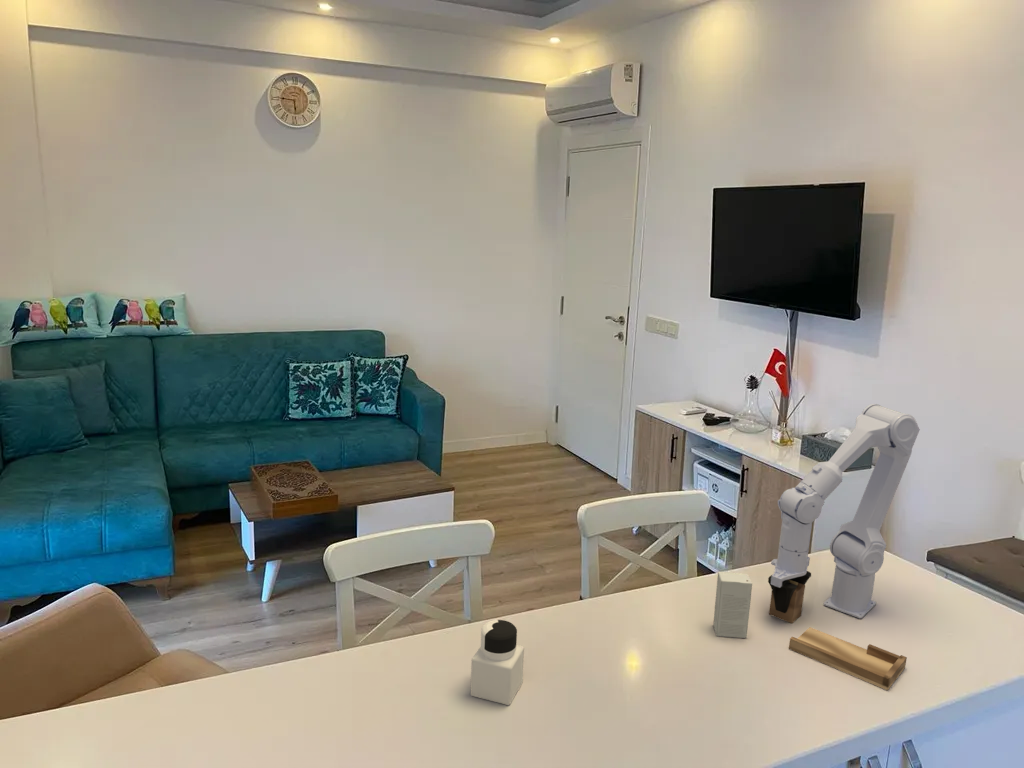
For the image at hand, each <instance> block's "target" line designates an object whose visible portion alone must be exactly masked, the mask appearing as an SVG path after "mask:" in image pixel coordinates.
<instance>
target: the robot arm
mask: <svg viewBox="0 0 1024 768" xmlns="http://www.w3.org/2000/svg"><path fill="white" fill-rule="evenodd" d="M920 430H921V429H920V427H919V424H918V423H917V421H916V419H915V417H914V416H913V415H911V414H908V413H903V412H899V411H897V410H893V409H891V408H888V407H884V406H882V405H880V404H877V403H870V404H868V405H867V406H866V407H865V408H864V409H863V410H862V411H861V413H860V414H859V415H858V416H857V417H856V419H855V427H854V428H853V430H852V431H851V433H850V434H849V435H848V436H847V438H846V439H844V441H843V442H842V444H841V445H840V446H839V447H838V448H837V450H836V451H835V453H833V455H832V456H831V457H830V458H829V460H827V461H820V462H818V463H817V464H815V465H814V466H813V467H812V468H811V470H810V471H809V472H808V473H807V474H806V475H805V477H804V478H802V480H801V481H800V482H799V483H798V484H796V486H795V487H791V488H788V489H786V490H784V491H783V493H782V494H781V495H780V497H779V499H778V500H777V506H778V510H779V511H780V519H781V527H780V534H779V535H780V536H779V544H778V550H777V551H778V552H777V558H773V559H772V560H771V561H770V562H771V563H770V564H771V565H772V566H774V571H773V574H771V575H770V576H768V577H767V578H768V581H767V582H768V584H769V587H770V589H771V593H772V592H773V596H774V602H775V608H776V610H777V611H780V612H783V613H786V612H787V610H788V607H789V603H790V600H791V597H792V595H793V593H794V591H795V589H796V588H797V587H798V585H795V584H792V583H790V581H789V580H792V581H795V582H797V583H800V584H803V585H805V586H806V583H807V582H808V581H809V579H810V578H811V577H812V572H810V571H808V567H809V566H810V561H811V560H810V559H811V557H810V556H809V550H810V549H809V548H810V540H811V534H812V527H813V526H812V525H813V522H814V521H816V520H817V519H819V517H820V515H821V513H822V510H823V509H822V508H823V506H824V505H825V500H826V499H827V498H828V497H829V496H830V495H831V494H832V493H833V492H834V491H835V490H836V489H837V487H838V486H840V485H841V483H842V482H843V473H844V472H845V470H846V469H848V468H849V467H850V466H851V465H852V464H853V463H854V462H855V461H857V460H858V459H859V458H860V457H861V456H862V455H863V454H864V453H866V452H867V451H868V450H869V449H871V448H875V447H876V448H877V449H878V451H879V455H878V458H877V459H876V463H875V464H874V467H873V469H872V472H871V475H870V478H869V479H868V482H867V485H866V487H865V490H864V492H863V495H862V496H861V500H860V501H859V504H858V507H857V510H856V512H855V514H854V517H853V519H852V520H851V521H848V522H844V523H842V524H841V526H840V528H839V530H837V531H838V532H837V533H836V534H835V535H834V536H833V537H832V538H831V541H830V544H829V550H830V553H831V556H833V562H834V563H835V567H834V574H833V581H832V589H831V595H830V596H829V597H828V598H827V599H826V600H824V601H823V606H825V607H828V608H830V609H833V610H836V611H838V612H841V613H844V614H846V615H849V616H853V617H854V618H857V619H862V618H864V617H865V616H866V615H867V614H868V613H869V612H870V610H872V609H873V608H874V607H875V605H876V604H877V602H876V600H872V599H873V594H874V593H873V591H874V585H875V579H876V573H878V572H879V571H880V569H881V568H882V566H883V564H884V559H885V557H884V556H885V551H886V548H887V543H886V541H885V540H884V538H883V536H882V533H881V528H882V525H884V522H885V518H886V517H887V514H888V511H889V509H890V507H891V504H892V501H894V497H895V495H896V492H897V490H898V487H899V484H900V483H901V480H902V478H903V475H904V473H905V470H906V468H907V465H908V463H909V460H910V458H911V455H912V452H913V447H914V445H915V443H916V440H917V437H918V435H919V432H920Z"/></svg>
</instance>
